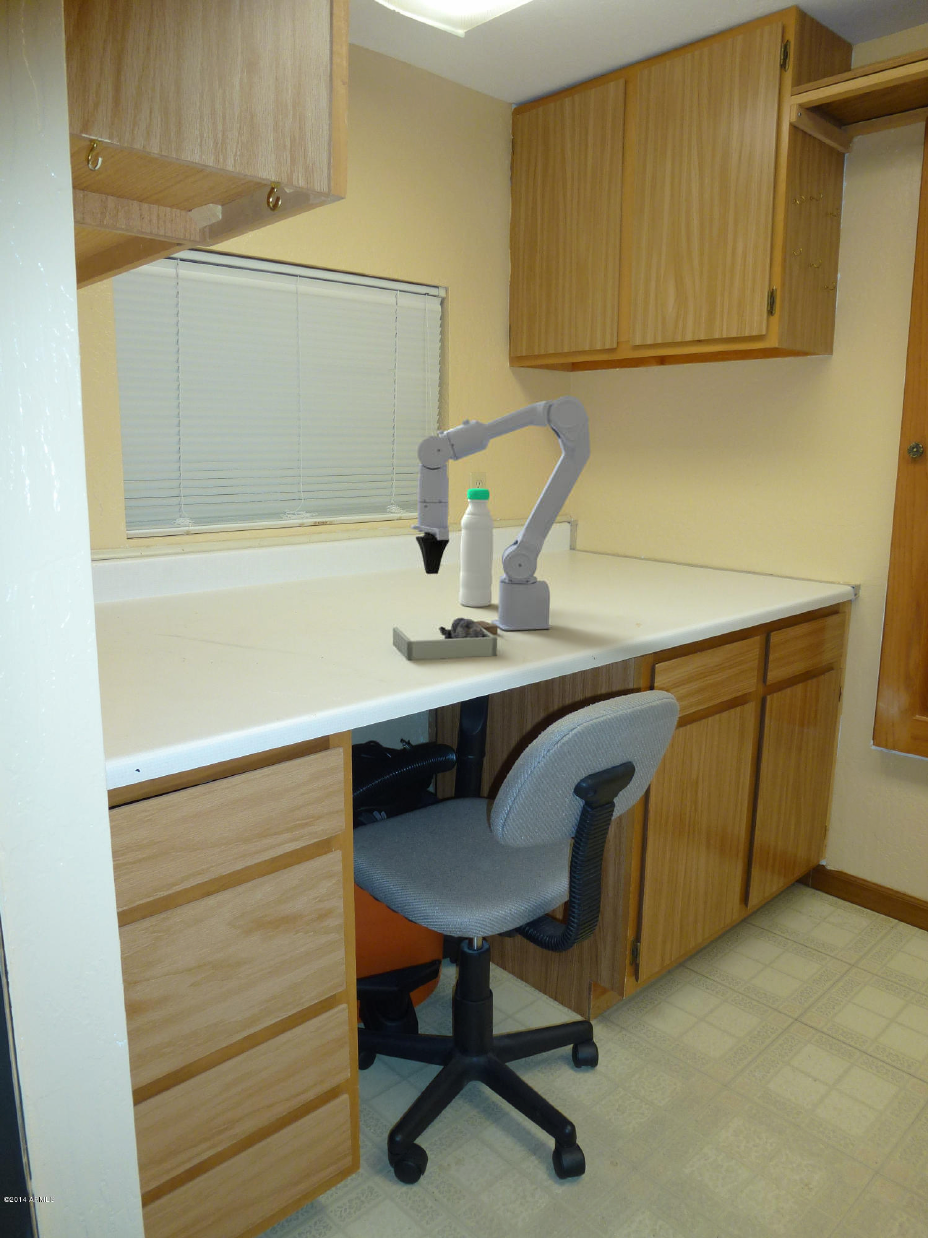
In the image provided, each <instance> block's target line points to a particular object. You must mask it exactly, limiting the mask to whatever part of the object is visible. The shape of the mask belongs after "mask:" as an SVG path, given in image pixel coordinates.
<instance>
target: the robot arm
mask: <svg viewBox="0 0 928 1238" xmlns="http://www.w3.org/2000/svg"><path fill="white" fill-rule="evenodd" d="M461 423H462V424H461V425H458V426H455V427H453V428H451V429H448V430H445V431H444V430H443V429H441V430H438V432H437V434H438V436H437V435H429V436H428V437H426V438H425V439H423V440H422V441H421V442H420V444H419V445H418V448H417V457H418V461H419V462H420V463H419V466H418V477H417V522H416V523H417V524H412V525H411V527H410V528H411V530H417V532H418V533H423V535H418V536H415V540H416V542H417V544H418V547H419V549H420V551H421V552H420V553H421V555H422V562H423V566H424V572H425V573H426V574H427V575H438V574H439V571H440V567H441V564H442V559H443V556H444V552H445V550H446V548H447V546H448V545H449V542H450V533H449V531H450V529H449V528H450V526H449V477H448V462H449V460H452V461H454V462H455V461H456V462H457V461H459V460H462V459H464V458H467V457H469V456H470V457H471V455H475V454H477V453H479V452H482V451H485V450H487V448H488V446H489V443H490V441H491V440H492V439H495V438H498V437H502V436H503V435H506V434H510V433H512V432H515V431H518V430H520V429H524V428H526V427H529V426H533V427H534V426H535V427H541V428H545V427H548V426H549V428H550V429H551V430H552V432H553V433H554V434H555V436H556V437H557V440H558V444H559V447H560V449H561V453H562V454H561V456H560V458H559V460H558V462H557V463H556V465H555V467H554V469H553V471H552V472H551V474H550V476H549V478H548V481H547V482H546V484H545V486H544V488H543V490H542V491H541V493H540V496H539V497H538V499H537V501H536V503H535V505H534V506H533V508H532V511H531V512H530V515H529V516H528V518H527V520H526V522H525V523H524V526H523V527H522V528H521V530H520V532H519V533H518V535H516V538H515V540H514V541H513V542H511V544H509V545H508V546H507V547H505V549H504V551H503V552H502V554H501V563H502V569H503V572H504V573H503V575H501V576H500V577H499V581H498V582H499V583H498V584H499V586H498V611H497V613H498V614H497V616H498V617H497V619H491V620H490V623H491V624H494V625H497V626H498V628H499V629H501V630H502V631H521V630H522V631H526V630H545V629H546V630H547V629H551V625H550V608H551V607H550V606H551V605H550V604H551V603H550V602H551V592H550V587H549V583H547V581H545V580H538V577H537V576H534V575H535V574H536V571H537V568H538V557H539V555H540V553H541V552H542V550H543V549H542V548H543V546H544V543H545V541H546V538H547V537H548V534H549V532H550V531H551V530H552V528H553V526H554V524H555V522H556V520H557V518H558V516H559V514H560V512H561V510H562V509H563V507H564V505H565V503H566V501H567V500H568V498H569V495H570V494H571V492H572V490H573V488H574V487H575V484H576V483H577V480H578V479H579V477H580V475H581V473H582V471H583V470H584V467H586V464H587V463H588V461H589V459H590V456H591V442H590V441H591V438H590V427H589V424H590V418H589V416H588V413H587V411H586V409H585V407H584V404H583V403H582V402H581V400H579V399H578V398H577V397H575V396H572V395H565V396H561V397H559V398H557V399H555V400H554V399H550V400H545V401H539V402H536V403H531V404H529V405H527V406H524V407H522V408H519V409H517V410H515V411H511V412H510V413H508V414H506V415H503V416H501V417H499V418H496V419H493V420H491V421H489V422H487V423H483V422H481V421H480V420H476V419H473V420H471V421H470V420H469V419H468V418H467V419H465V420H462V421H461Z"/></svg>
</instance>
